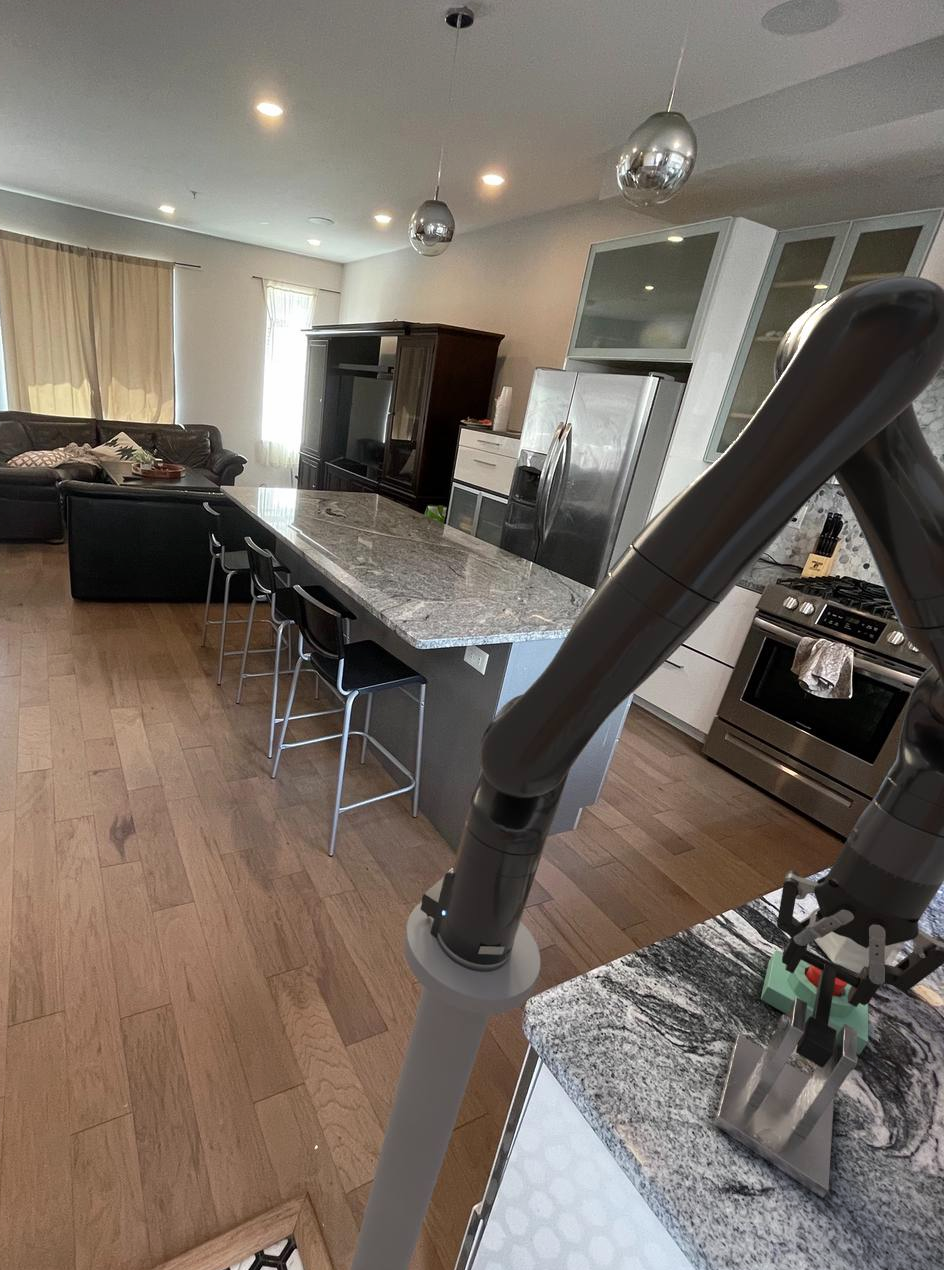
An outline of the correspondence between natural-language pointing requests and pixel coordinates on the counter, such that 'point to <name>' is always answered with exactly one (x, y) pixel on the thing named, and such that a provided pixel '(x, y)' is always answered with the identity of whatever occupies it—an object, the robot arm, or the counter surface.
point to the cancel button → (814, 976)
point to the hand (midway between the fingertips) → (819, 982)
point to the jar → (852, 951)
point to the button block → (812, 998)
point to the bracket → (786, 1100)
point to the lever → (822, 1011)
